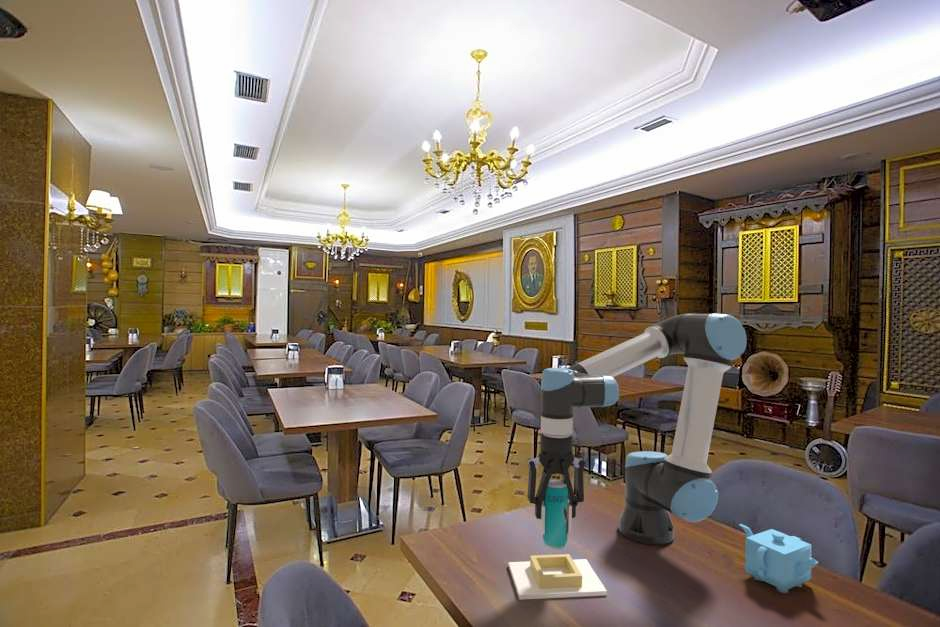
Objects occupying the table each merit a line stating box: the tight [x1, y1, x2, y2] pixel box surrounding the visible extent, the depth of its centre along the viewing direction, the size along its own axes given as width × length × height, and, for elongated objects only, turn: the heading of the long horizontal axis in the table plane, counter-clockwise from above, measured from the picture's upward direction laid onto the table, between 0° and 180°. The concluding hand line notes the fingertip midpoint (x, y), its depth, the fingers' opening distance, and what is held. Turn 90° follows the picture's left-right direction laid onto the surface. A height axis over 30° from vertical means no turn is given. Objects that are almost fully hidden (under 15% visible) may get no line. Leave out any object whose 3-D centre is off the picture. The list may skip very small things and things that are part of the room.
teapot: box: [738, 523, 819, 594], centre depth 115 cm, size 16×18×11 cm
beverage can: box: [542, 478, 569, 551], centre depth 114 cm, size 6×6×15 cm
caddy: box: [507, 553, 608, 601], centre depth 114 cm, size 20×14×4 cm
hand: (555, 531), depth 114 cm, fingers closed on beverage can, 6 cm apart
